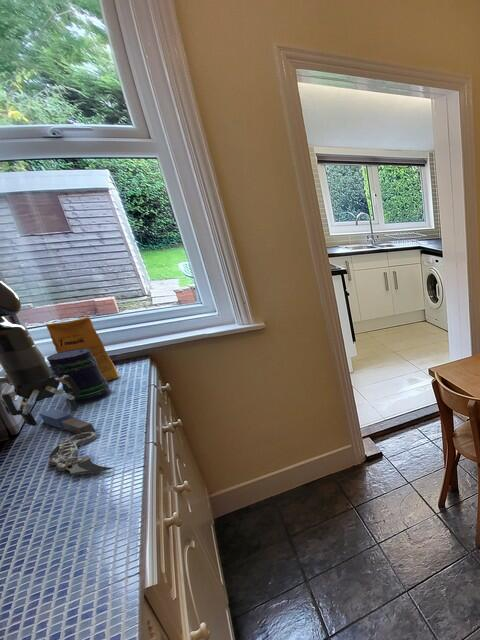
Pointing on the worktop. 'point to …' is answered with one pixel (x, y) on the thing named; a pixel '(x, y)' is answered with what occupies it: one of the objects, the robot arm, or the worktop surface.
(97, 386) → the storage jar
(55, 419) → the blue bar
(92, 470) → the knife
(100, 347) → the coffee package
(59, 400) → the worktop surface
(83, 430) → the walnut bar
